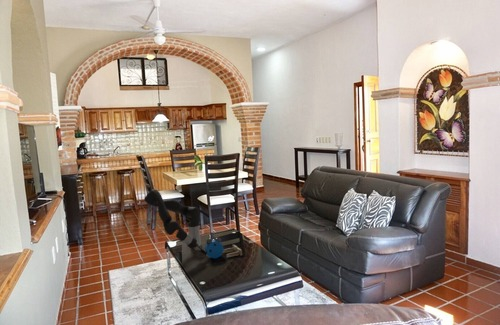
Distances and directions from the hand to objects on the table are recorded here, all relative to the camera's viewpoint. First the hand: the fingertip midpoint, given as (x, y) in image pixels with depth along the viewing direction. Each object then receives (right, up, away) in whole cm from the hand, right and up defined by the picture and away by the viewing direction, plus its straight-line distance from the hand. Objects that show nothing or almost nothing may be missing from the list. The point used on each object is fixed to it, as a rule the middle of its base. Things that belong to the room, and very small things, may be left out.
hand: (206, 254), depth 269 cm
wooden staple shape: (+19, -2, +9) cm, 21 cm away
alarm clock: (+6, -4, +4) cm, 8 cm away
